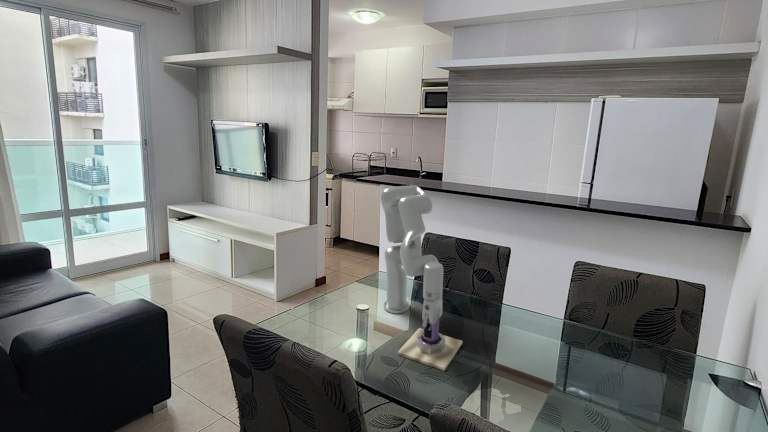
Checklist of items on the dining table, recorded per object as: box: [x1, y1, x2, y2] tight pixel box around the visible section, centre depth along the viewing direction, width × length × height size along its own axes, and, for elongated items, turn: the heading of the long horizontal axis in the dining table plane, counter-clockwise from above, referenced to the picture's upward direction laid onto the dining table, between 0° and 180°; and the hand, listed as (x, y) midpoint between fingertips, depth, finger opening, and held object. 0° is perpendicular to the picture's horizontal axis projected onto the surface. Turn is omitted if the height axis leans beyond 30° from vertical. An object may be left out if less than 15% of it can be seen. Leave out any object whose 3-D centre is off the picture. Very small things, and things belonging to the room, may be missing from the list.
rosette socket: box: [397, 327, 464, 371], centre depth 169 cm, size 20×20×5 cm
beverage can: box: [424, 312, 440, 345], centre depth 166 cm, size 6×6×15 cm
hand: (431, 332), depth 167 cm, fingers closed on beverage can, 5 cm apart
